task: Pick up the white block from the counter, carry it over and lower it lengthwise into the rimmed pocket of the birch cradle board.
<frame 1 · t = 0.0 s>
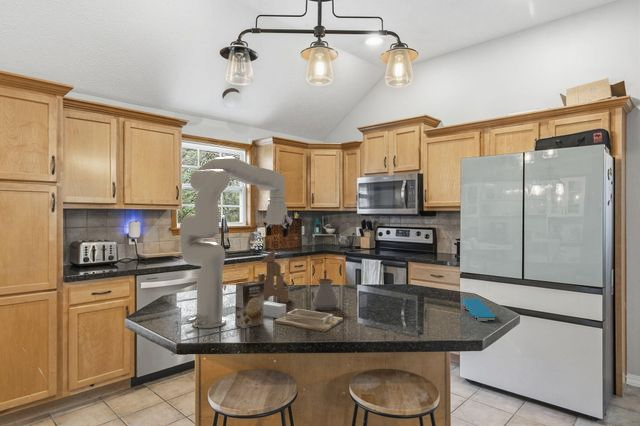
hand: (277, 236, 185), 31 cm above the counter, tool pointing down, fingers open, 9 cm apart
wooden toy: (273, 301, 183), on the counter
blue oblong block: (475, 316, 162), on the counter
cradle: (309, 321, 150), on the counter
coffee box: (249, 325, 146), on the counter
coffee pot: (325, 305, 175), on the counter
white block: (270, 315, 159), on the counter
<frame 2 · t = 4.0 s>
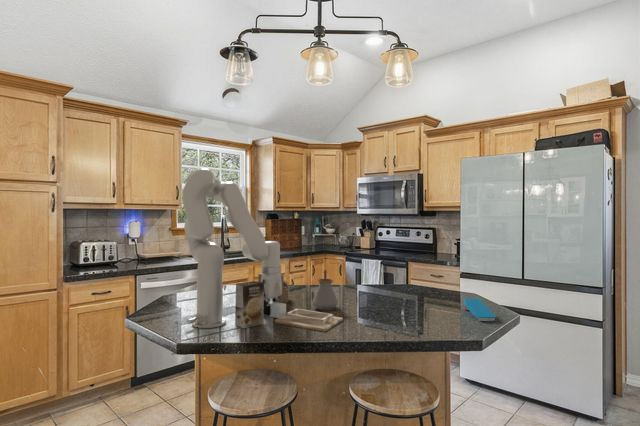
hand: (270, 312, 159), 1 cm above the counter, tool pointing down, fingers closed on white block, 4 cm apart
white block: (270, 314, 159), on the counter, touching gripper
everything else where it was.
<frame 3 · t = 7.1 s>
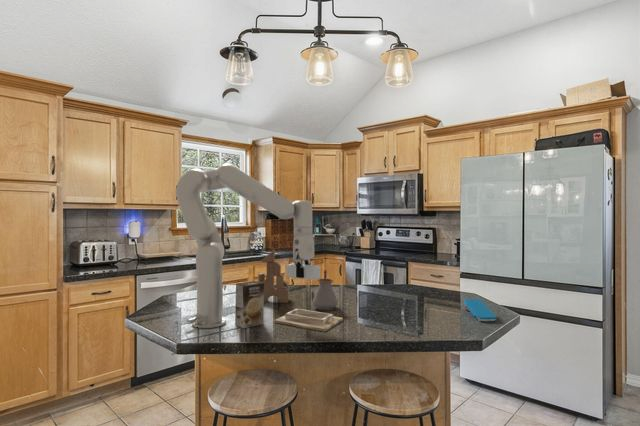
hand: (303, 275, 152), 18 cm above the counter, tool pointing down, fingers closed on white block, 4 cm apart
white block: (303, 277, 152), point 17 cm above the counter, touching gripper
everything else where it was.
when the fingers open (4 cm above the counter, at t = 10.3 s): white block drops 2 cm, resting on cradle.
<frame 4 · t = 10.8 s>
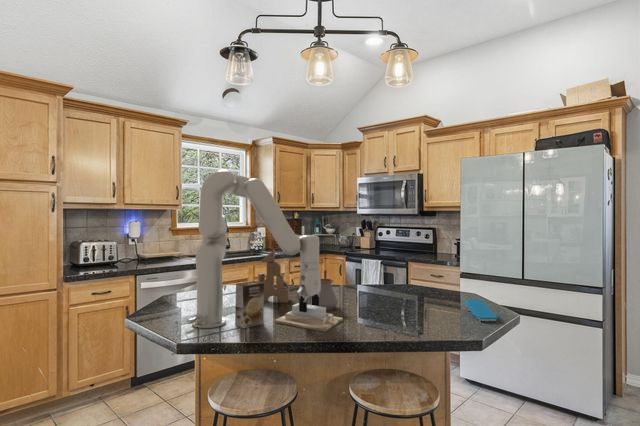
hand: (309, 308, 150), 5 cm above the counter, tool pointing down, fingers open, 9 cm apart
white block: (308, 318, 150), point 1 cm above the counter, touching cradle
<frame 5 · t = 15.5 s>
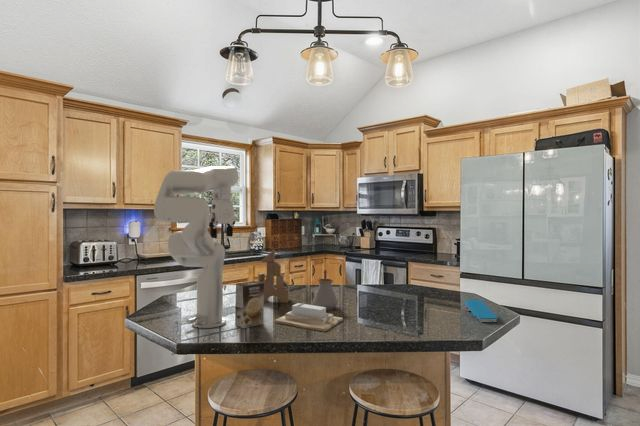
hand: (221, 237, 163), 32 cm above the counter, tool pointing down, fingers open, 9 cm apart
at the end: white block 0.1 cm off-centre on the cradle, point 1.0 cm above the cradle's base; white block tilted 0°; the gripper is holding nothing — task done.
